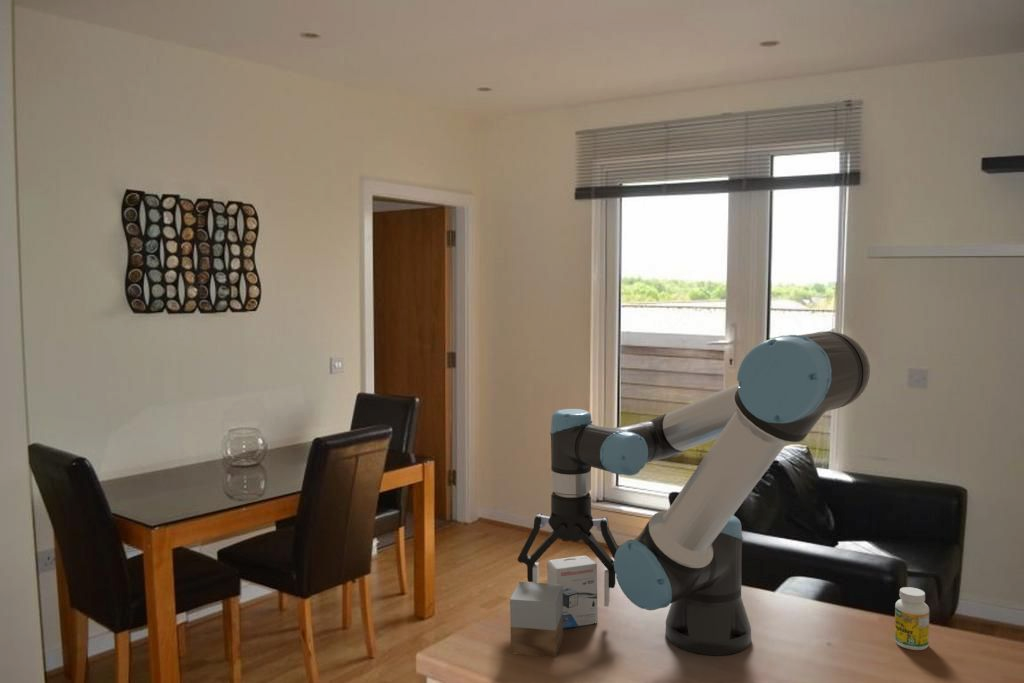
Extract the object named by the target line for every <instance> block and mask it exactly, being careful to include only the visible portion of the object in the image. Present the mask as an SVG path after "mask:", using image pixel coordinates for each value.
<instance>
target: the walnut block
mask: <svg viewBox="0 0 1024 683" xmlns="http://www.w3.org/2000/svg"><path fill="white" fill-rule="evenodd" d="M509 628H510V653H516V654H515V655H523V654H525V656H534V655H537V657H538V656H539V657H547V658H549V657H550V658H557V657H558V656H557V655H558V652H559V649H560V647H561V644H562V641H563V638H564V629H563V612H562V615H561V618H560V620H559V623H558V626H557V629H556V630H544V629H532V628H519V627H511V626H510V627H509Z"/></svg>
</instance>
